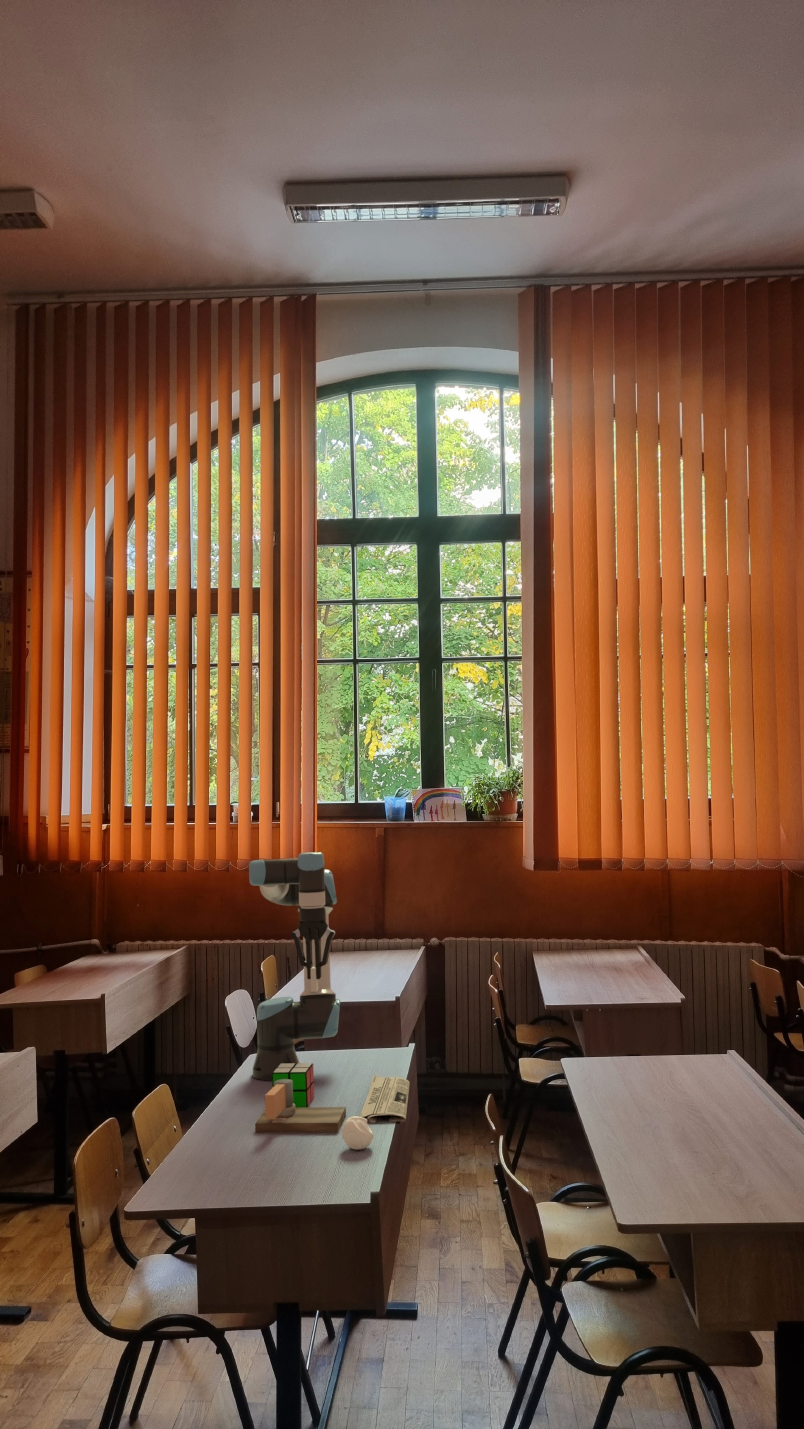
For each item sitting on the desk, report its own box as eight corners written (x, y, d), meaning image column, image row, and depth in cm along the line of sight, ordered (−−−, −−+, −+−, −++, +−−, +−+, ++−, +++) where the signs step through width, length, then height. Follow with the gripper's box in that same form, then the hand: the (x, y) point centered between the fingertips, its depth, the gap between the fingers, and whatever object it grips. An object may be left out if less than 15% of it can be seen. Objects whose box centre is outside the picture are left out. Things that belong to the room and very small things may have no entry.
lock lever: (295, 1101, 263) (294, 1079, 264) (279, 1119, 249) (278, 1095, 250) (277, 1101, 264) (277, 1079, 265) (260, 1118, 250) (260, 1095, 251)
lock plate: (267, 1116, 266) (266, 1100, 267) (345, 1116, 264) (345, 1099, 265) (255, 1132, 254) (254, 1115, 254) (338, 1132, 251) (337, 1114, 252)
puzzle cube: (314, 1098, 282) (313, 1062, 283) (307, 1108, 272) (306, 1072, 273) (280, 1098, 283) (279, 1063, 284) (272, 1109, 273) (271, 1072, 274)
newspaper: (405, 1123, 258) (405, 1110, 258) (359, 1125, 258) (358, 1111, 258) (409, 1085, 293) (409, 1073, 293) (368, 1086, 293) (368, 1074, 294)
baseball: (375, 1153, 236) (374, 1120, 236) (344, 1156, 234) (343, 1123, 235) (371, 1142, 243) (370, 1110, 244) (341, 1144, 242) (340, 1112, 243)
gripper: (337, 904, 280) (339, 988, 278) (293, 905, 282) (295, 988, 280) (331, 907, 273) (334, 993, 271) (286, 908, 274) (289, 993, 272)
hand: (314, 990), depth 275 cm, fingers closed
